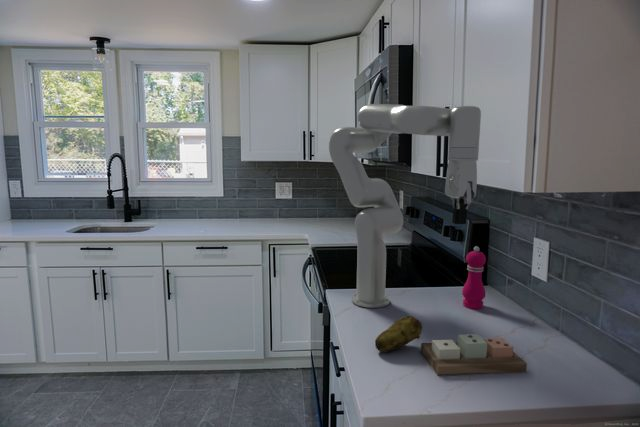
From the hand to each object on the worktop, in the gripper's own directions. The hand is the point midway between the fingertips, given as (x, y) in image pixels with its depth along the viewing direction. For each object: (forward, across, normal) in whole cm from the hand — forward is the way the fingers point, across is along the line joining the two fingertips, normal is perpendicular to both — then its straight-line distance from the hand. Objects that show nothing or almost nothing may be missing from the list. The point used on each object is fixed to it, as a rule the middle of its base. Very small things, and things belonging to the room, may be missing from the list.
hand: (459, 223), depth 114 cm
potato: (+31, +8, -18) cm, 37 cm away
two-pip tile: (+29, +16, -2) cm, 34 cm away
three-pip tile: (+31, +16, +4) cm, 35 cm away
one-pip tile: (+31, +16, -8) cm, 36 cm away
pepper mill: (+31, -20, +15) cm, 40 cm away
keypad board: (+31, +16, -2) cm, 35 cm away
